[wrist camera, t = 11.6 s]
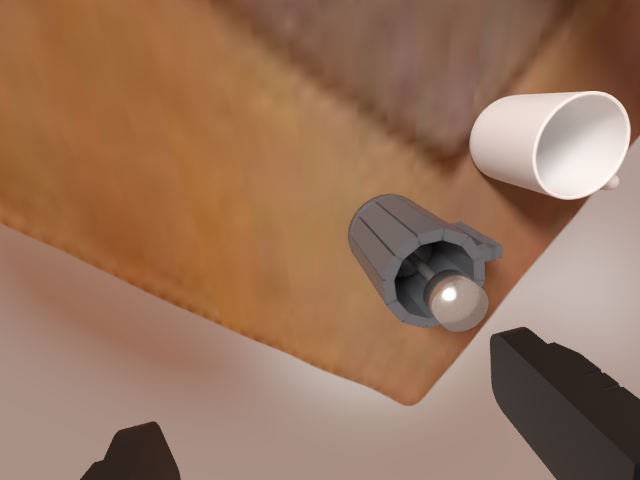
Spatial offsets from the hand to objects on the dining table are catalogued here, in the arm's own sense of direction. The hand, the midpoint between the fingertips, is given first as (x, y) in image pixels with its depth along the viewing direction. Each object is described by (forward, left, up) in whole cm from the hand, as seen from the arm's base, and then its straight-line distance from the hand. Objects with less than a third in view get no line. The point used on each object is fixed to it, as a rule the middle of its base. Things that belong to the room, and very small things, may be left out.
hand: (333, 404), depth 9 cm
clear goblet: (+8, +10, -25) cm, 29 cm away
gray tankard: (+8, +11, -30) cm, 33 cm away
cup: (+2, +25, -30) cm, 39 cm away
